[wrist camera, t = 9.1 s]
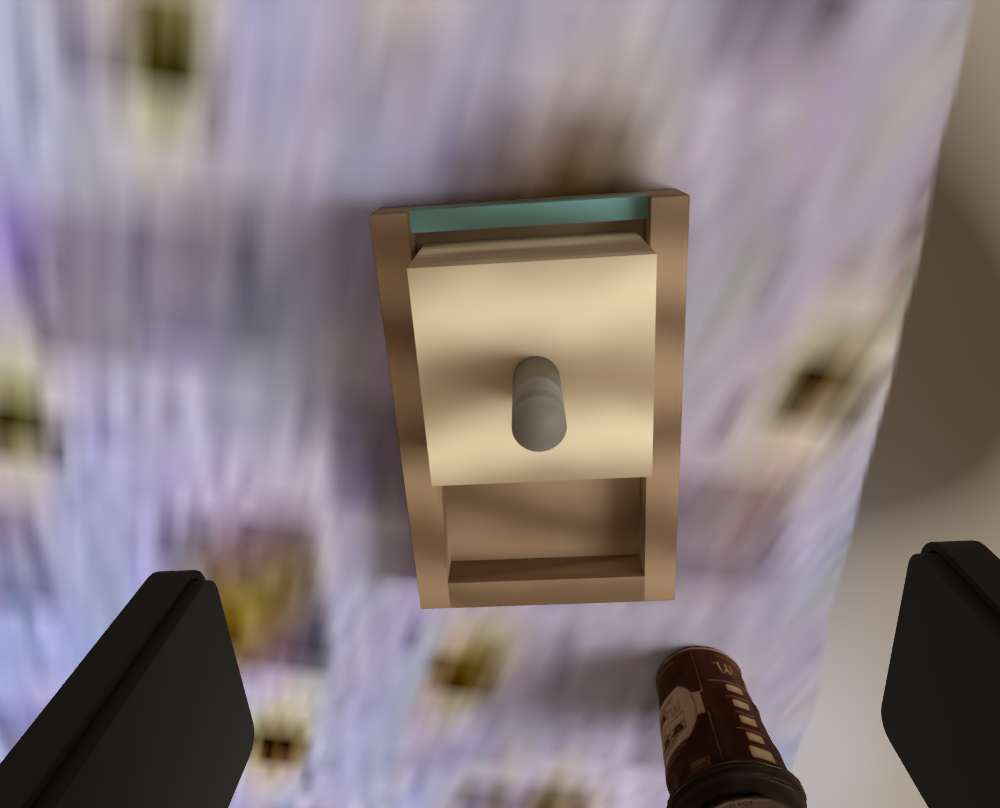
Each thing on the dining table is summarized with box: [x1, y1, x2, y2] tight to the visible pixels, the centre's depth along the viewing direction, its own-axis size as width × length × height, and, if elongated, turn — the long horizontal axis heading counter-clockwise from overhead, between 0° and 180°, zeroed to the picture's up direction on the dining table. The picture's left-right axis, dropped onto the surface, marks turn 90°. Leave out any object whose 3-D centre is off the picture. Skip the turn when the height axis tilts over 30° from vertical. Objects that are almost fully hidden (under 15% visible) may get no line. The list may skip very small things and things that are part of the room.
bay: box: [369, 189, 690, 609], centre depth 44 cm, size 26×17×3 cm, turn 4°
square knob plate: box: [407, 231, 657, 486], centre depth 37 cm, size 12×12×13 cm
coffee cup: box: [656, 647, 807, 808], centre depth 48 cm, size 9×8×13 cm
